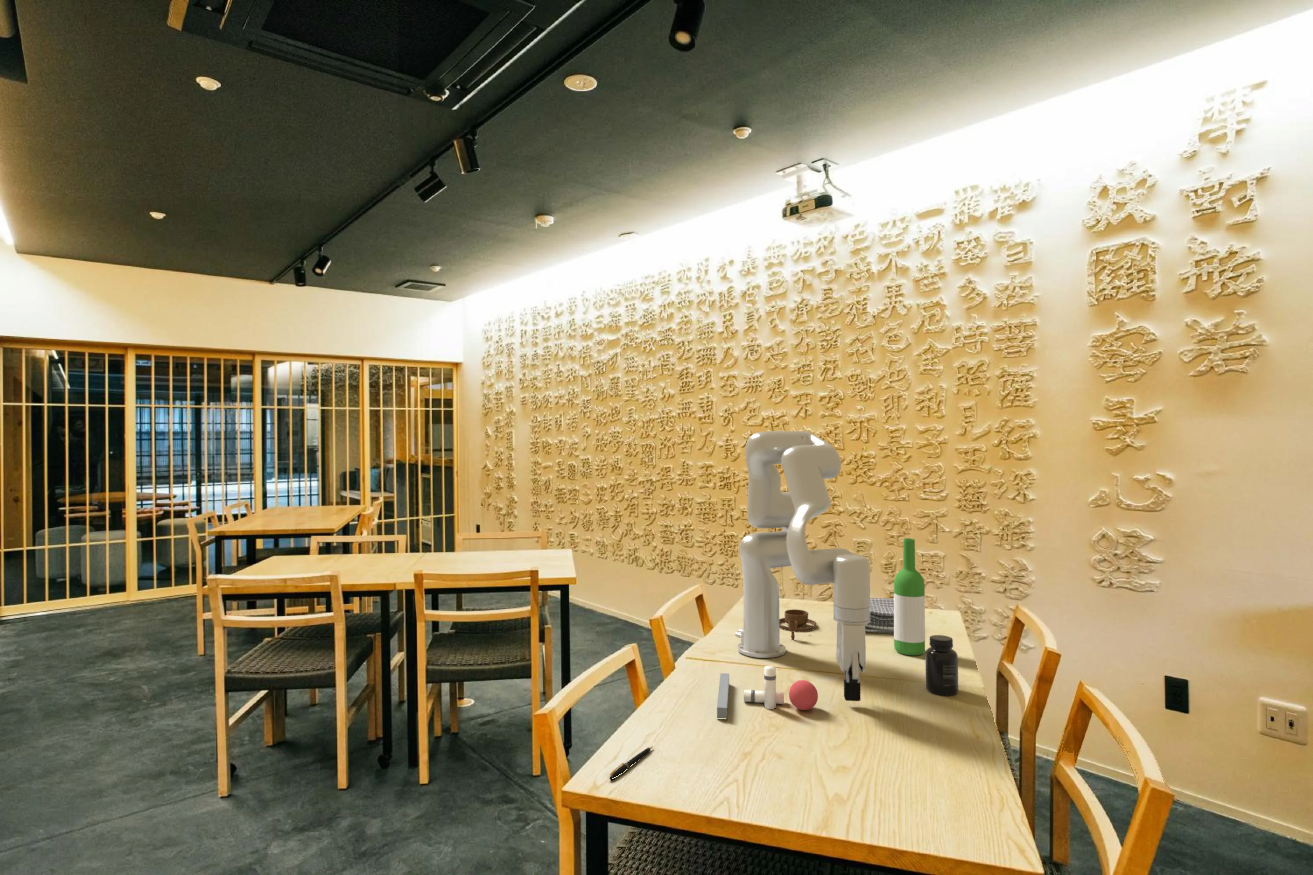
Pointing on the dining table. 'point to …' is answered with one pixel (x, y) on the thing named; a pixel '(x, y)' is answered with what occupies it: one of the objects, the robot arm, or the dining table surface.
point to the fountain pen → (628, 763)
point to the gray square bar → (723, 696)
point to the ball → (803, 695)
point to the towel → (881, 615)
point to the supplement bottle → (941, 666)
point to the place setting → (796, 621)
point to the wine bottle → (909, 605)
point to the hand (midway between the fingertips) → (852, 699)
